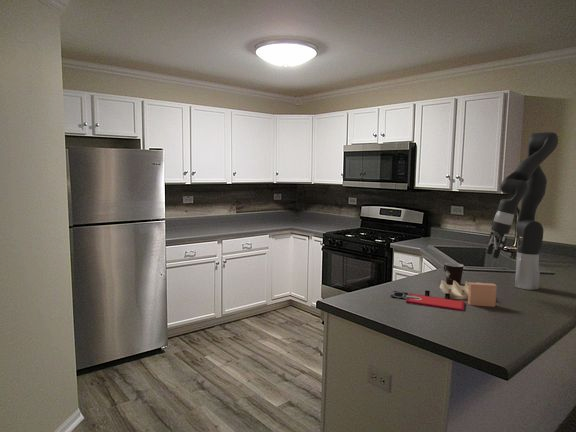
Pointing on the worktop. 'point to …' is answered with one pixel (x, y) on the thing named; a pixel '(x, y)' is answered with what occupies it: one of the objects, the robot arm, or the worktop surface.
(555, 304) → the worktop surface
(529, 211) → the robot arm
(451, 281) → the coffee mug
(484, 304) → the tile
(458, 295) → the dish rack
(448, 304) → the red board with handle
